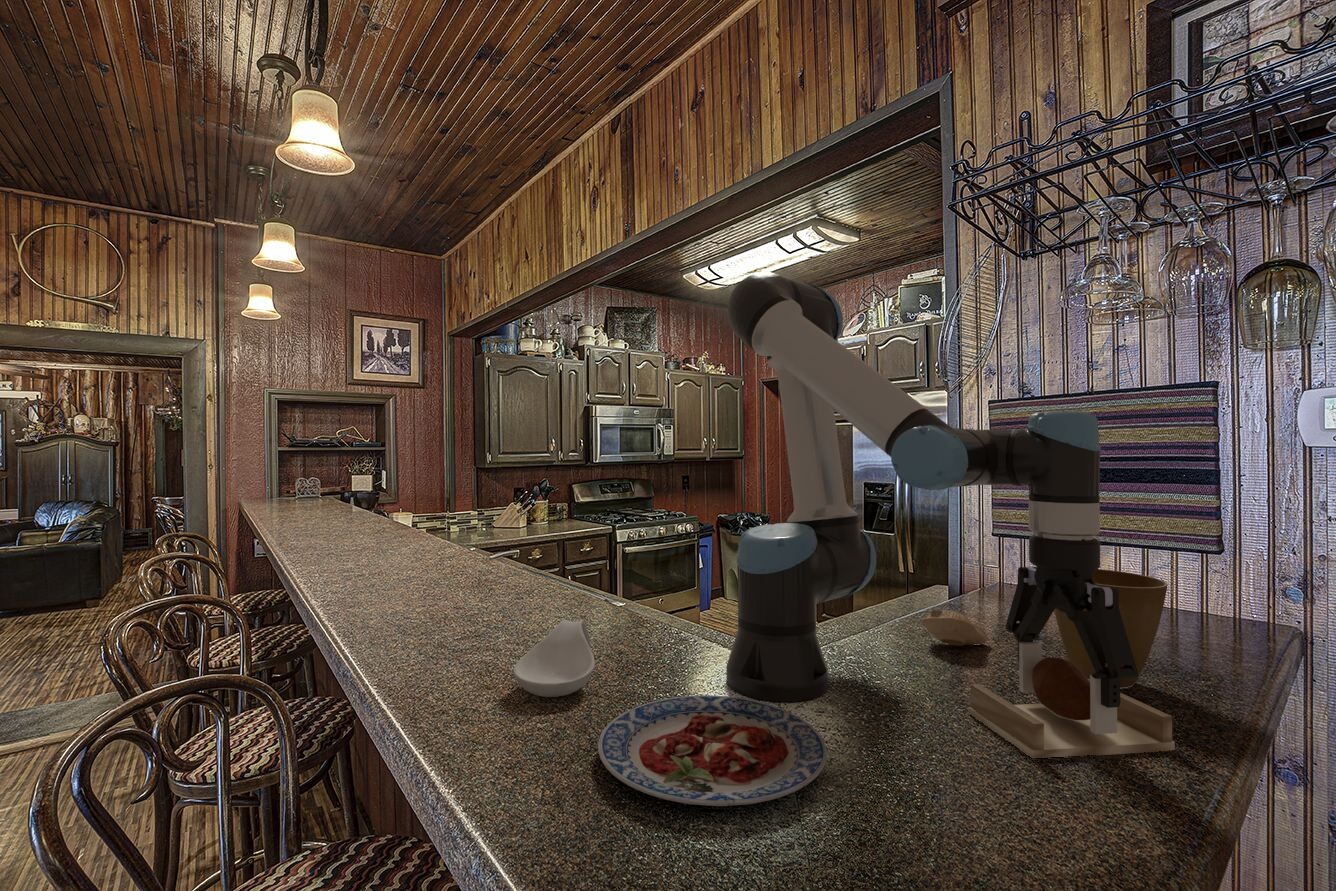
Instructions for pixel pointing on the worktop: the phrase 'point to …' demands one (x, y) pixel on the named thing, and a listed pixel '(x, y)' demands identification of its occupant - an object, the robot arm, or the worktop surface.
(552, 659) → the spoon rest
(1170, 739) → the tray
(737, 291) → the robot arm
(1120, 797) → the worktop surface
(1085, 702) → the potato
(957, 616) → the pottery oil lamp
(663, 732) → the ceramic plate
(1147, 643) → the plant pot
